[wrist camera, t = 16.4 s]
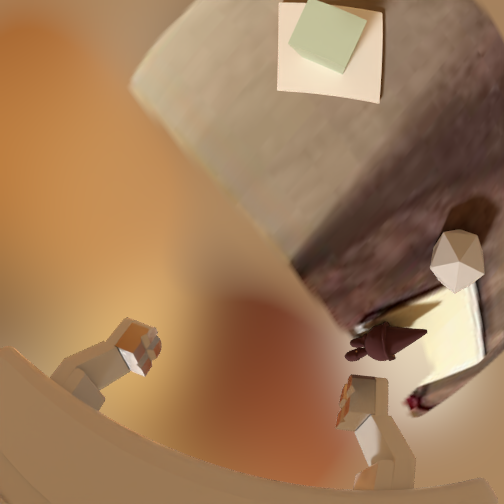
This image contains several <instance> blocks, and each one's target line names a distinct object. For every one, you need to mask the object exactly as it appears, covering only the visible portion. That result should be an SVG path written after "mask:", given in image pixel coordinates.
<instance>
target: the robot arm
mask: <svg viewBox="0 0 504 504" xmlns="http://www.w3.org/2000/svg"><path fill="white" fill-rule="evenodd" d="M157 333H158V332H157V330H156V328H155V327H152V326H149V325H146V324H144V323H141V322H138V321H136V320H133V319H130V318H128V317H127V318H125V319H123V321H122V322H121V323H120V324H119V325H118V327H117V328H116V329H115V331H114V332H113V333H112V334H111V336H110V337H109V338H108V339H107V341H106V342H105V341H102V342H100V343H98V344H96V345H94V346H91V347H89V348H87V349H84V350H82V351H80V352H78V353H76V354H73V355H71V356H69V357H67V358H65V359H64V360H63V361H62V362H61V364H60V365H59V366H58V368H57V369H56V370H55V372H54V373H53V374H52V376H51V377H50V378H49V377H48V376H47V375H45V374H44V373H43V372H41V371H40V370H39V369H38V368H37V367H36V366H34V365H33V364H32V363H31V362H29V361H28V360H27V359H26V358H25V357H24V356H23V355H22V354H20V353H19V352H18V351H17V350H16V349H15V348H14V347H12V346H7V347H3V348H0V504H498V499H497V496H496V494H495V492H494V491H493V489H492V487H491V486H490V485H489V483H488V482H487V481H486V480H485V479H484V478H477V479H472V480H468V481H463V482H458V483H453V484H447V485H440V486H433V487H425V488H416V489H413V488H414V478H415V466H416V458H415V456H414V454H413V453H412V451H411V449H410V447H409V446H408V444H407V442H406V440H405V439H404V437H403V435H402V434H401V432H400V430H399V429H398V427H397V425H396V423H395V422H394V420H393V418H392V417H391V416H388V380H387V379H386V378H377V377H370V376H360V375H352V374H351V375H350V376H349V378H348V383H347V384H345V385H344V387H343V389H342V392H341V395H340V401H339V406H340V408H341V410H340V412H339V413H338V415H337V421H336V429H341V430H348V431H355V434H356V437H357V439H358V442H359V444H360V446H361V449H362V451H363V453H364V456H365V458H366V461H367V463H368V466H369V467H368V468H366V469H365V470H363V471H361V472H359V473H358V474H356V477H355V482H354V487H353V490H344V489H330V488H320V487H312V486H304V485H298V484H291V483H286V482H280V481H275V480H270V479H265V478H261V477H256V476H253V475H249V474H245V473H241V472H237V471H234V470H230V469H227V468H224V467H220V466H217V465H214V464H211V463H208V462H205V461H202V460H199V459H197V458H194V457H191V456H189V455H186V454H183V453H181V452H178V451H176V450H173V449H171V448H169V447H166V446H164V445H162V444H159V443H157V442H155V441H153V440H151V439H149V438H147V437H145V436H142V435H140V434H138V433H136V432H134V431H132V430H130V429H129V428H127V427H125V426H123V425H121V424H119V423H117V422H116V421H114V420H112V419H110V418H109V417H107V416H105V415H104V414H102V413H100V412H99V409H100V408H101V406H102V405H103V403H104V401H105V397H104V396H103V395H102V394H101V392H100V391H99V390H101V389H103V388H104V387H106V386H108V385H109V384H111V383H112V382H114V381H116V380H117V379H119V378H120V377H122V376H124V375H125V374H127V373H129V372H130V371H132V372H135V373H137V374H140V375H142V376H146V375H147V373H148V371H149V370H150V368H151V367H152V360H154V359H156V358H157V357H158V355H159V354H160V351H161V340H160V338H158V336H157Z"/></svg>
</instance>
